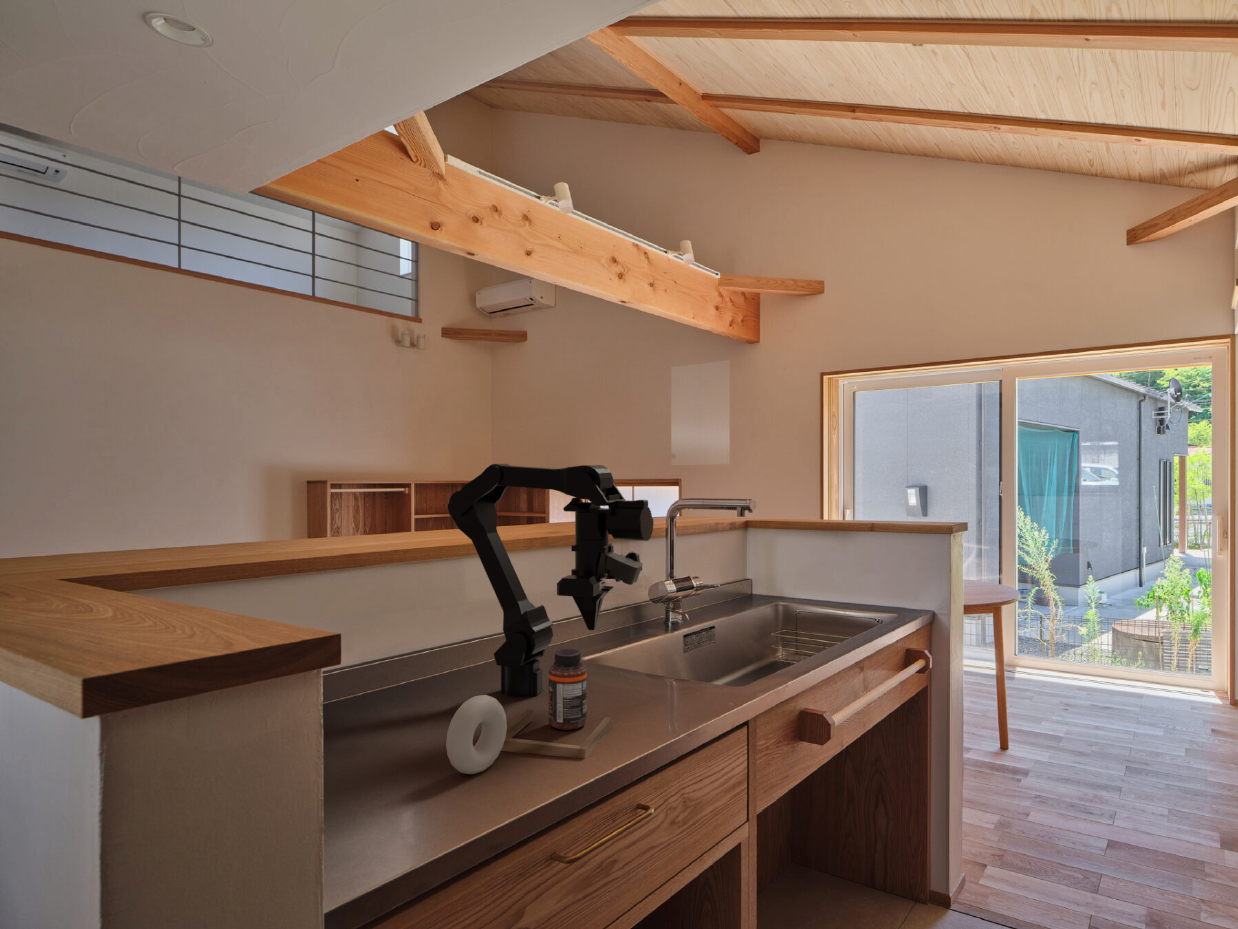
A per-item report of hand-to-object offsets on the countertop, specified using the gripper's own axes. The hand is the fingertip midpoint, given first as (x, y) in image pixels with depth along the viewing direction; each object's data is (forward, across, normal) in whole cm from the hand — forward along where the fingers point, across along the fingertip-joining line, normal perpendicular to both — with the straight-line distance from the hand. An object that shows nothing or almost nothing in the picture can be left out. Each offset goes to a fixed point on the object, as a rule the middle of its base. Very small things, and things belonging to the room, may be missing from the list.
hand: (591, 629), depth 126 cm
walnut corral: (+12, -18, 0) cm, 22 cm away
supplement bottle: (+12, -12, 0) cm, 17 cm away
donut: (+12, -32, +6) cm, 35 cm away
